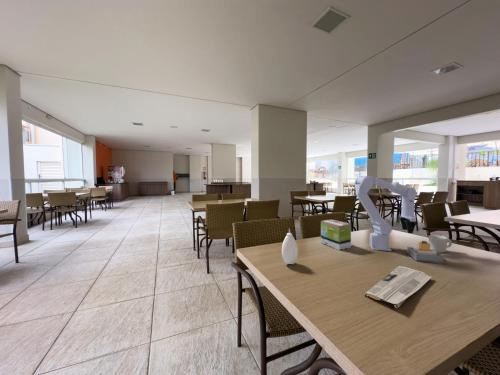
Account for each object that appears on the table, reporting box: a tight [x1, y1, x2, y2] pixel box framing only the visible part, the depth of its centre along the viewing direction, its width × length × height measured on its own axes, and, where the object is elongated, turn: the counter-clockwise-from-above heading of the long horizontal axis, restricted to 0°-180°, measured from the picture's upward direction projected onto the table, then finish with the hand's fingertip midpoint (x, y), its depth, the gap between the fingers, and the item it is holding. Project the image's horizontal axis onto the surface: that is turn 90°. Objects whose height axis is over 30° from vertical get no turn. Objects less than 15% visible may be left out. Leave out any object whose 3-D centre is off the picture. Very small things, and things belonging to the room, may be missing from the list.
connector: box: [417, 240, 430, 251], centre depth 106 cm, size 4×4×8 cm
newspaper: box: [364, 265, 433, 309], centre depth 79 cm, size 35×12×4 cm, turn 128°
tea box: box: [320, 218, 352, 251], centre depth 128 cm, size 15×10×15 cm, turn 25°
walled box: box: [406, 246, 445, 264], centre depth 106 cm, size 11×11×4 cm
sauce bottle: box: [281, 228, 299, 265], centre depth 102 cm, size 8×8×18 cm
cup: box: [427, 234, 453, 254], centre depth 114 cm, size 11×8×8 cm
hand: (407, 231), depth 120 cm, fingers open, 7 cm apart
